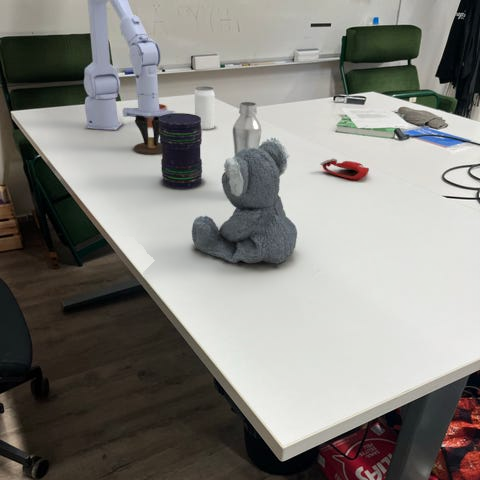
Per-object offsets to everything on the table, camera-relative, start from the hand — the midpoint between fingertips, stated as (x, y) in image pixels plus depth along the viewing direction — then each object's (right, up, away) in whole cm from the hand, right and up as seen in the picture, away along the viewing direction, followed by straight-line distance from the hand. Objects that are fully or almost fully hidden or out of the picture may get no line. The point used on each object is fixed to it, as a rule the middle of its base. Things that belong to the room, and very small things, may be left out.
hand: (151, 144), depth 138 cm
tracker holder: (+53, -12, -10) cm, 56 cm away
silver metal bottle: (+27, -21, -24) cm, 42 cm away
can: (+14, +13, +22) cm, 29 cm away
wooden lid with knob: (0, -1, +1) cm, 1 cm away
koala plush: (+28, -37, -46) cm, 66 cm away
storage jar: (+11, -17, -19) cm, 28 cm away
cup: (-3, +15, +23) cm, 28 cm away
